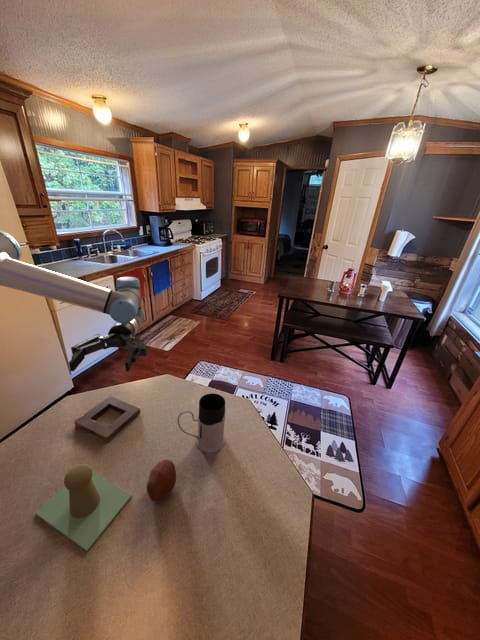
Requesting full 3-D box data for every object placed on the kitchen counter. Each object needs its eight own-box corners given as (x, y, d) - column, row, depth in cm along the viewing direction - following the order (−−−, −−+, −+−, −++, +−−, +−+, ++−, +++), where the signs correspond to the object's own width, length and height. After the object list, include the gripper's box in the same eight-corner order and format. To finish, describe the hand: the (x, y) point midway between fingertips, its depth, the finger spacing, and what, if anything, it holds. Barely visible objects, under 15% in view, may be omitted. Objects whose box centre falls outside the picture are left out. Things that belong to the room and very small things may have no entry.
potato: (138, 498, 61) (135, 481, 58) (162, 466, 69) (161, 449, 66) (162, 511, 59) (161, 493, 56) (184, 476, 67) (184, 459, 64)
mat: (35, 514, 56) (34, 512, 56) (84, 469, 66) (84, 467, 66) (87, 552, 51) (86, 550, 51) (132, 496, 61) (131, 495, 61)
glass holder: (228, 448, 76) (231, 409, 70) (180, 461, 71) (180, 421, 65) (219, 426, 83) (222, 389, 77) (175, 437, 78) (174, 398, 72)
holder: (75, 426, 78) (74, 421, 77) (110, 400, 90) (110, 395, 89) (107, 443, 74) (106, 437, 73) (140, 413, 86) (140, 408, 85)
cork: (73, 493, 60) (65, 462, 56) (102, 487, 62) (95, 456, 58) (66, 521, 55) (55, 488, 51) (97, 513, 57) (90, 481, 52)
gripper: (162, 341, 88) (150, 378, 69) (85, 340, 85) (50, 379, 65) (161, 322, 85) (148, 355, 66) (82, 319, 82) (43, 354, 62)
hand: (99, 367), depth 66 cm, fingers open, 13 cm apart
